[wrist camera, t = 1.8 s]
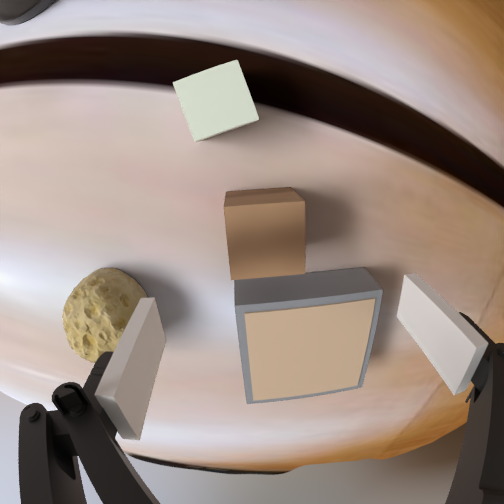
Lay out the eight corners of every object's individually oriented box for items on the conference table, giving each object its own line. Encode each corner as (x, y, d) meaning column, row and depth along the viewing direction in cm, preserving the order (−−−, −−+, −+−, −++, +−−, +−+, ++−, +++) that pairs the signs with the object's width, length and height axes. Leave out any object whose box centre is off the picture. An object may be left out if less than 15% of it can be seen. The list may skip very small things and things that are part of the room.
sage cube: (183, 91, 23) (172, 82, 18) (236, 72, 23) (237, 59, 18) (202, 140, 25) (194, 142, 20) (254, 122, 25) (259, 119, 20)
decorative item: (107, 251, 32) (37, 285, 25) (157, 269, 27) (68, 318, 20) (126, 317, 36) (66, 353, 29) (175, 345, 31) (106, 396, 23)
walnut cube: (226, 191, 27) (223, 206, 21) (290, 187, 27) (305, 201, 22) (231, 251, 29) (231, 280, 24) (292, 246, 29) (305, 273, 24)
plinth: (234, 279, 30) (234, 306, 25) (363, 266, 31) (383, 290, 26) (245, 374, 36) (246, 405, 31) (350, 361, 36) (362, 388, 31)
